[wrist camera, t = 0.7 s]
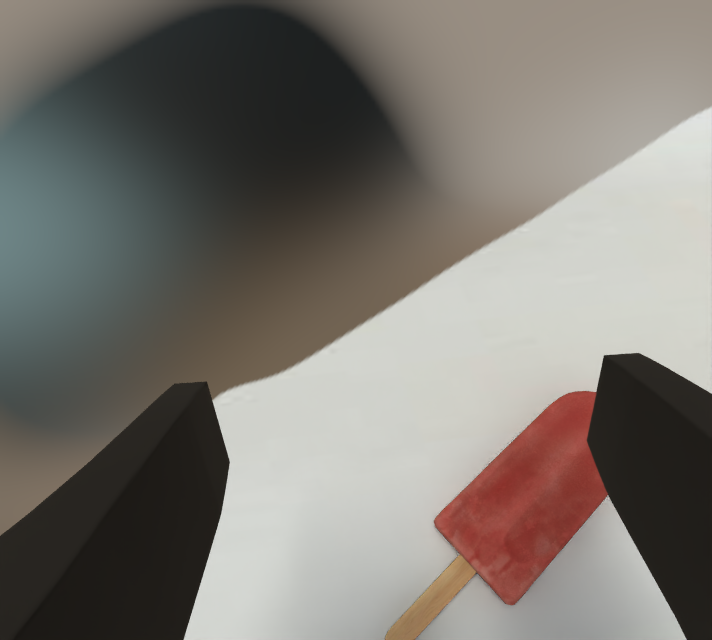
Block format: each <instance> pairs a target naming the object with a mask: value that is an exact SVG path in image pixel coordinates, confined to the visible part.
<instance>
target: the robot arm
mask: <svg viewBox="0 0 712 640" xmlns="http://www.w3.org/2000/svg"><path fill="white" fill-rule="evenodd" d="M587 443H588V446H589V448H590V451H591V454H592V456H593V459H594V462H595V464H596V467H597V470H598V472H599V475H600V477H601V479H602V482H603V484H604V487H605V489H606V492H607V493H608V495H609V497H610V499H611V501H612V503H613V505H614V507H615V508H616V510H617V512H618V514H619V516H620V518H621V519H622V521H623V523H624V525H625V527H626V529H627V530H628V532H629V534H630V536H631V538H632V540H633V541H634V543H635V545H636V547H637V549H638V550H639V552H640V554H641V556H642V558H643V559H644V561H645V563H646V565H647V567H648V568H649V570H650V572H651V574H652V576H653V577H654V579H655V581H656V583H657V584H658V586H659V588H660V590H661V592H662V593H663V595H664V597H665V599H666V601H667V602H668V604H669V606H670V608H671V610H672V611H673V613H674V615H675V617H676V619H677V621H678V623H679V625H680V627H681V629H682V631H683V633H684V635H685V637H686V639H687V640H712V394H711V393H709V392H708V391H706V390H704V389H702V388H701V387H699V386H697V385H696V384H694V383H692V382H691V381H689V380H687V379H685V378H684V377H682V376H680V375H678V374H677V373H675V372H673V371H671V370H670V369H668V368H666V367H664V366H663V365H661V364H659V363H657V362H655V361H653V360H652V359H650V358H648V357H646V356H644V355H642V354H640V353H633V354H618V355H604V358H603V363H602V368H601V372H600V377H599V382H598V387H597V392H596V397H595V402H594V407H593V412H592V416H591V421H590V426H589V431H588V436H587ZM229 463H230V461H229V458H228V454H227V451H226V447H225V444H224V440H223V437H222V433H221V430H220V426H219V423H218V419H217V416H216V412H215V409H214V405H213V402H212V398H211V395H210V391H209V388H208V384H207V382H195V383H180V384H174V385H172V386H171V387H170V388H169V389H168V390H167V391H165V392H164V393H163V394H162V395H161V396H160V397H159V398H158V399H157V400H155V401H154V402H153V403H152V404H151V405H150V406H149V407H148V408H147V409H146V410H145V411H144V412H143V413H142V414H141V415H140V416H138V417H137V418H136V419H135V420H134V421H133V422H132V423H131V424H130V425H129V426H128V427H127V428H126V429H124V431H122V432H121V433H120V434H119V435H118V436H117V437H116V438H115V439H114V440H113V441H111V442H110V444H108V445H107V446H106V447H105V448H104V449H103V450H102V451H101V452H99V453H98V454H97V455H96V456H95V457H94V458H93V459H92V460H91V461H90V462H89V463H87V465H85V466H84V467H83V468H82V469H81V470H79V471H78V472H77V473H76V474H75V475H73V476H72V477H71V478H70V479H69V480H68V481H66V482H65V483H64V484H63V485H62V486H61V487H59V488H58V489H57V490H56V491H55V492H54V493H52V494H51V495H50V496H49V497H48V498H46V499H45V500H44V501H43V502H42V503H41V504H39V505H38V506H37V507H36V508H35V509H34V510H33V511H31V512H30V513H29V514H28V515H26V516H25V517H24V518H22V519H21V520H20V521H19V522H17V523H16V524H15V525H14V526H12V527H11V528H10V529H9V530H7V531H6V532H5V533H3V534H2V535H1V536H0V640H183V639H184V636H185V633H186V629H187V626H188V623H189V619H190V616H191V613H192V610H193V606H194V603H195V600H196V596H197V593H198V590H199V586H200V583H201V580H202V577H203V573H204V570H205V567H206V563H207V560H208V557H209V553H210V550H211V547H212V543H213V540H214V536H215V533H216V530H217V526H218V523H219V519H220V516H221V511H222V506H223V500H224V495H225V489H226V483H227V476H228V470H229Z"/></svg>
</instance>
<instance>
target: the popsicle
mask: <svg viewBox="0 0 712 640" xmlns="http://www.w3.org/2000/svg"><path fill="white" fill-rule="evenodd" d="M595 397H596V392H589V391H578V392H572V393H568V394H566V395H564V396H562V397H560V398H558V399H557V400H556V401H555V402H553V403H552V404H551V405H550V406H548V407H547V408H546V409H545V410H544V411H543V412H542V413H541V414H540V415H539V416H538V417H537V418H536V419H535V420H534V421H533V422H532V423H531V424H530V425H529V426H528V427H527V428H526V429H525V430H524V431H523V432H522V433H521V434H520V435H519V436H518V437H517V438H516V439H515V440H514V441H513V442H512V443H511V444H509V445H508V446H507V447H506V448H505V449H504V450H503V451H502V452H501V453H500V454H499V455H498V456H497V457H496V458H495V459H494V460H493V461H492V462H491V463H490V464H489V465H488V466H487V467H486V468H485V469H484V470H483V471H482V472H481V473H480V474H479V475H478V476H477V477H476V478H475V479H474V480H473V481H472V482H471V483H470V484H469V485H468V486H467V487H466V488H465V489H464V490H463V491H462V492H461V493H460V494H459V495H458V496H457V497H456V498H455V499H454V500H453V501H452V502H451V503H449V504H448V505H447V506H446V507H445V508H444V509H443V510H442V511H441V512H440V513H439V515H438V516H437V517H436V518H435V520H434V524H435V527H436V528H437V529H438V530H439V532H440V533H441V534H442V535H443V536H444V537H445V538H446V539H447V540H448V541H449V542H450V544H451V545H452V546H453V547H454V548H455V549H456V550H457V551H458V552H459V553H460V555H459V556H458V557H457V558H456V559H455V560H454V561H453V562H452V563H451V564H450V566H449V567H448V568H447V569H446V570H445V571H444V572H443V573H442V574H441V575H440V576H439V577H438V578H437V579H436V580H435V582H434V583H433V584H432V585H431V586H430V587H429V588H428V589H427V590H426V591H425V592H424V593H423V594H422V595H421V596H420V597H419V599H418V600H417V601H416V602H415V603H414V604H413V605H412V606H411V607H410V608H409V609H408V610H407V611H406V612H405V613H404V614H403V616H402V617H401V618H400V619H399V620H398V621H397V622H396V623H395V624H394V625H393V626H392V627H391V628H390V630H389V631H388V632H387V634H386V637H385V640H415V638H416V637H417V636H418V635H419V634H420V633H421V632H422V631H423V630H424V629H425V628H426V627H427V625H428V624H429V623H430V622H431V621H432V620H433V619H434V618H435V617H436V616H437V615H438V614H439V612H440V611H441V610H442V609H443V608H444V607H445V606H446V605H447V604H448V603H449V602H450V601H451V600H452V598H453V597H454V596H455V595H456V594H457V593H458V592H459V591H460V590H461V589H462V588H463V587H464V585H465V584H466V583H467V582H468V581H469V580H470V579H471V578H472V577H473V576H474V575H475V574H476V572H477V573H478V574H479V575H480V576H481V577H482V578H483V580H484V581H485V582H486V583H487V584H488V585H489V586H490V587H491V588H492V589H493V590H494V592H495V593H496V594H497V595H498V596H499V597H500V598H501V599H502V600H503V601H504V602H505V604H508V605H515V603H516V602H517V601H518V600H519V599H520V598H521V597H522V596H523V595H524V594H525V593H526V591H527V590H528V589H529V588H530V586H531V585H532V584H533V583H534V581H535V580H536V579H537V578H538V577H539V576H540V574H541V573H542V572H543V571H544V570H545V568H546V567H547V566H548V565H549V564H550V562H551V561H552V560H553V559H554V558H555V557H556V555H557V554H558V553H559V552H560V551H561V550H562V548H563V547H564V546H565V545H566V544H567V543H568V541H569V540H570V539H571V538H572V537H573V535H574V534H575V533H576V532H577V531H578V530H579V528H580V527H581V526H582V525H583V524H584V523H585V521H586V520H587V519H588V518H589V517H590V515H591V514H592V513H593V512H594V511H595V510H596V508H597V507H598V506H599V505H600V504H601V502H602V501H603V500H604V499H605V498H606V497H607V495H608V493H607V492H606V489H605V487H604V484H603V482H602V479H601V477H600V475H599V472H598V470H597V467H596V464H595V462H594V459H593V456H592V454H591V451H590V448H589V446H588V443H587V436H588V431H589V426H590V421H591V416H592V412H593V407H594V402H595Z"/></svg>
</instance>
